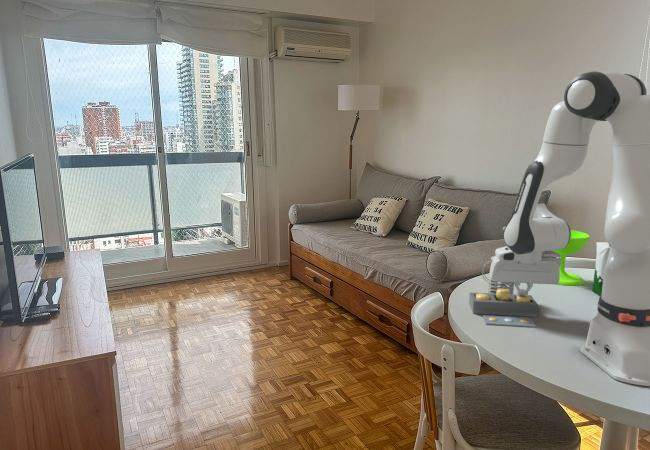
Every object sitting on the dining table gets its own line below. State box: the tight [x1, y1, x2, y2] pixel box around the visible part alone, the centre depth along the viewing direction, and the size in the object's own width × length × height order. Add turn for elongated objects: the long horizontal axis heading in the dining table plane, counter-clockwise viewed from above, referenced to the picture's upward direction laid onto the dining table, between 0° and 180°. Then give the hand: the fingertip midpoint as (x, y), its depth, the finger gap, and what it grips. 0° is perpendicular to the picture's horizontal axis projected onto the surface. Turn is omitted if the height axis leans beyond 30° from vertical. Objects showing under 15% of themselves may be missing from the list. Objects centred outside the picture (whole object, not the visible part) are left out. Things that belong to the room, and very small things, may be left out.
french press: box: [481, 226, 515, 295], centre depth 153 cm, size 10×12×25 cm
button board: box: [468, 292, 539, 328], centre depth 140 cm, size 16×19×4 cm
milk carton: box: [591, 241, 611, 297], centre depth 155 cm, size 9×9×20 cm
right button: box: [516, 294, 531, 302], centre depth 143 cm, size 4×4×3 cm
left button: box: [476, 294, 489, 300], centre depth 145 cm, size 4×4×3 cm
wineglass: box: [552, 229, 590, 287], centre depth 173 cm, size 16×16×18 cm
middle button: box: [496, 289, 510, 301], centre depth 143 cm, size 4×4×3 cm
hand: (522, 295), depth 143 cm, fingers closed
